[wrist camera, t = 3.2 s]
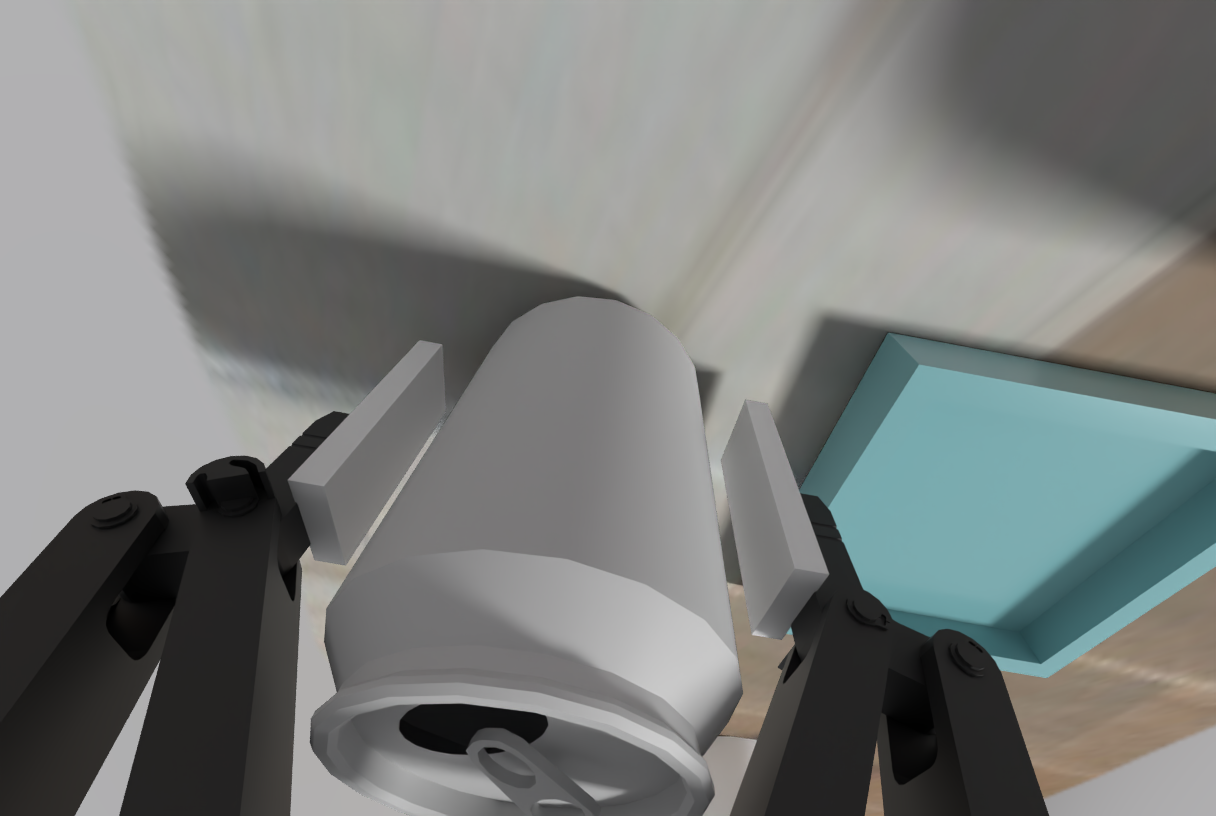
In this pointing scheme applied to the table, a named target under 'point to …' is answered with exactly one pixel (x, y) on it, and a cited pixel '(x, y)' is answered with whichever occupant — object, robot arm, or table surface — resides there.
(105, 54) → the table surface
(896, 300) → the table surface
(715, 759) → the teardrop
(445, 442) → the can
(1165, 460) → the tray
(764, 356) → the table surface
